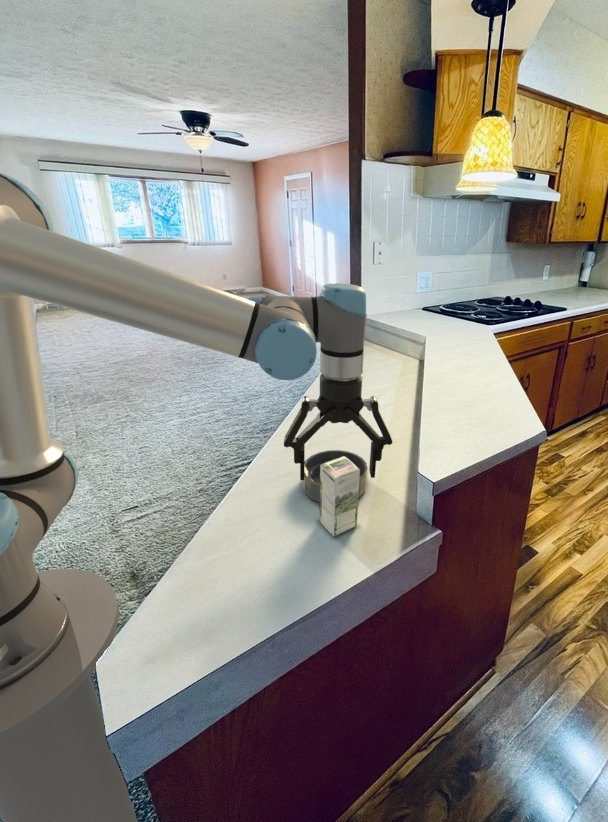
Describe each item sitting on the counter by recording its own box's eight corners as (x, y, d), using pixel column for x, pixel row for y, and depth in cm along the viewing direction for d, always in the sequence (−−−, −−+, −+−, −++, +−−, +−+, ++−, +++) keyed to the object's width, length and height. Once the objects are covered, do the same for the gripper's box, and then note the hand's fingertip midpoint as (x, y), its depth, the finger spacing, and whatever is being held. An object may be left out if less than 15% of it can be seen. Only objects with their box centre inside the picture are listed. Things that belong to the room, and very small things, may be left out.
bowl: (301, 508, 89) (301, 489, 87) (302, 468, 103) (302, 451, 101) (370, 504, 92) (371, 485, 90) (362, 465, 106) (363, 449, 104)
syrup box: (342, 511, 89) (343, 454, 83) (357, 527, 85) (360, 468, 79) (319, 521, 85) (319, 462, 80) (334, 538, 81) (335, 477, 76)
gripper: (405, 367, 78) (396, 462, 86) (270, 365, 74) (273, 466, 82) (414, 382, 71) (403, 483, 79) (266, 381, 67) (270, 489, 75)
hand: (337, 475), depth 80 cm, fingers open, 13 cm apart
